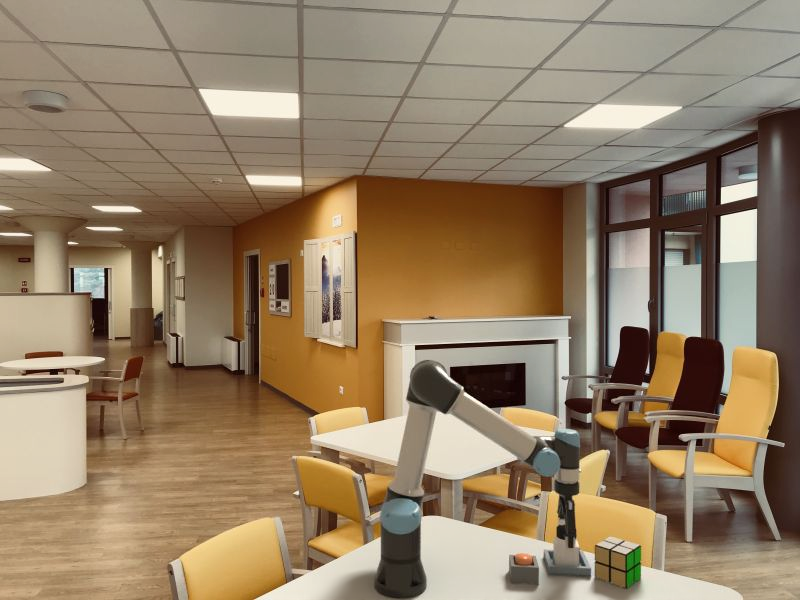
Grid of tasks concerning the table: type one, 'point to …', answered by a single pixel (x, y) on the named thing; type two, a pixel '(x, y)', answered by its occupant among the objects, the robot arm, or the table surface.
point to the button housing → (524, 572)
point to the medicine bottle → (560, 549)
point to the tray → (567, 570)
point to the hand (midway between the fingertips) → (566, 548)
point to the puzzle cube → (618, 561)
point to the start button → (523, 559)
